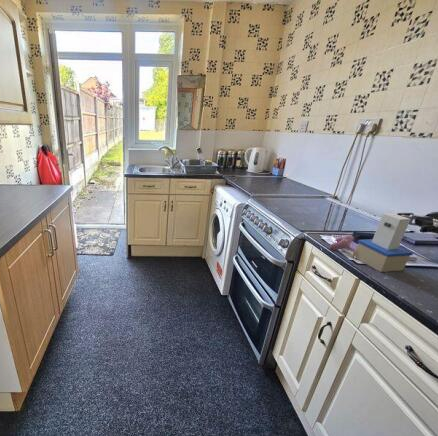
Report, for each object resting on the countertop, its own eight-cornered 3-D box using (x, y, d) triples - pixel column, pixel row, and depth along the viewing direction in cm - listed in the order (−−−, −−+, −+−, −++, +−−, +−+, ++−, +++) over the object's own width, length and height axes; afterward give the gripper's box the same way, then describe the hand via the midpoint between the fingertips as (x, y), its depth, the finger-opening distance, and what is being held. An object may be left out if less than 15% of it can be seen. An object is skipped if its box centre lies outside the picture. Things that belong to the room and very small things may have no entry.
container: (404, 270, 83) (413, 252, 81) (380, 272, 82) (388, 254, 79) (373, 255, 93) (380, 238, 90) (351, 256, 92) (357, 239, 89)
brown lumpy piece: (338, 255, 95) (353, 244, 90) (327, 247, 97) (341, 235, 93) (344, 248, 101) (359, 237, 97) (334, 240, 103) (348, 229, 99)
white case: (397, 249, 83) (410, 218, 79) (386, 250, 82) (399, 219, 78) (380, 241, 88) (392, 213, 84) (370, 242, 87) (381, 213, 83)
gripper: (426, 205, 90) (388, 206, 88) (480, 219, 77) (438, 221, 75) (417, 224, 93) (381, 226, 91) (468, 241, 80) (427, 243, 77)
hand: (407, 224), depth 83 cm, fingers open, 8 cm apart
